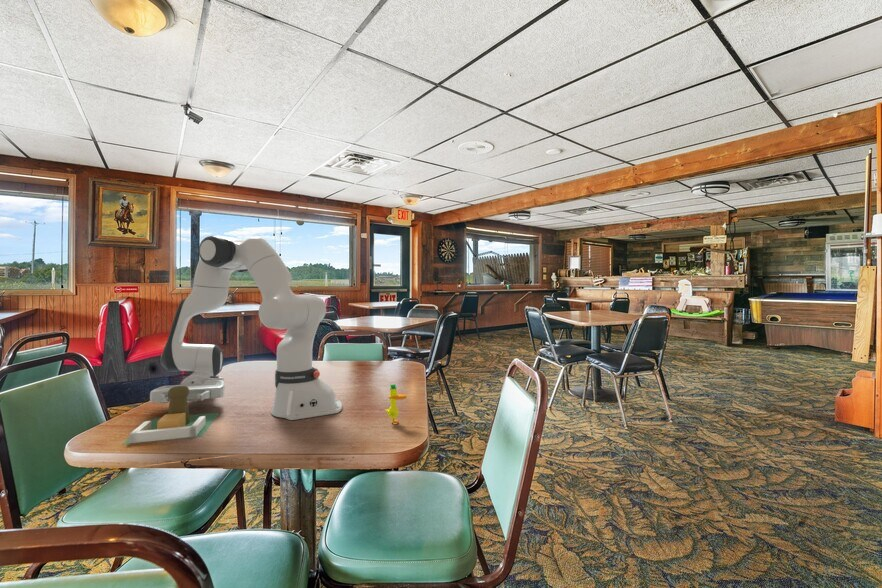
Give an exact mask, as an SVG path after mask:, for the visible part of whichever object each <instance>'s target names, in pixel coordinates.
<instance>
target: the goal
mask: <svg viewBox="0 0 882 588" xmlns="http://www.w3.org/2000/svg"><path fill="white" fill-rule="evenodd" d="M205 424H206V416H200V417H199V418H198V419H197V420H196V421H195V422H194V424H193V425H192V426H187V427H177V428H166V429H156V430H151V420H146V421H145V420H144V421H143V422H142V423H141V424H140V425H139V426H138V427H136V428H135V429H133V430H132V431H131V432H130V433H129V437H128V439H129V443H133V444H139V443H138V442H143V443H148V442H147V441H152V442H158V441H157V440H162V441H168V440H167V439H172V440H178V439H177V438H182V439H187V438H186V437H191V438H197V437H196V436H197V434H198V433H199V432H200V431H201V429H202V428H203V427H204V426H205Z"/></svg>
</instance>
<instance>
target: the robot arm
mask: <svg viewBox="0 0 882 588" xmlns="http://www.w3.org/2000/svg"><path fill="white" fill-rule="evenodd" d="M198 255H199V256H198V257H199V260H198V263H197V266H196V269H195V272H194V276H193V277H194V278H193V283H192V290H191V292H190V293H189V295H188V296H187V297H185V298H183V299H182V300H181V301H180V302H179V304H178V306H177V308H176V312H175V315H174V317H173V322H172V324H171V327H170V330H169V335H168V338H167V340H166V343H165V345H164V348H163V349H162V350H163V351H162V352H161V355H160V365H161V366H162V367H163V368H164V369H165V370H166V371H168V372H170V373H171V372H182V371H183V372H184V371H185V372H192V373H191V374H190V375H187V376H186V377H185V378H184V379H183V380H181V382H180V384H174V385H173V384H172V385H163V386H158V387H157V388H154V389H153V390H151V391H150V393H149V401H150V403H153V404H154V403H161V404H167V403H170V398H169V397H168V391H169V390H170V389H171V388H173V387H177V386H186V387H188V389H189V395H188V396H187V402H193V403H194V402H198V401H204V400H206V399H207V400H208V399H219V398H220V399H221V398H223V397H224V396H225V395H226V394H225V392H226V389H225V387H226V385H225V379H224V378H225V377H224V376H219V373H221V371H222V370H223V366H224V359H225V358H224V352H223V350H222V349H221V348H220V347H219V346H218V345H217V344H209V343H207V344H205V343H201V344H200V343H185V342H184V337H185V334H186V332H187V328H188V326H189V325H188V324H189V322H190V320H191V319H193V317H195V316H197V315H198V316H199V315H200V314H203V313H209V312H211V311H214V310H218V309H220V308H221V307H223V306H224V304H226V302H227V300H228V298H229V297H228V296H229V292H230V291H229V290H230V279H231V275H232V274H233V273H234V272H236V271H237V272H238V273H243V272H247V271H248V273H249V275H250V276H251V278H252V279H253V280H254V283H255V284H256V286H257V288H258V289H259V291H260V294H261V295H260V296H261V298H262V300H261V301H262V302H260V305H259V308H258V318H259V320H260V322H261V323H262V324H261V325H263V326H265V327H266V328H268V329H275V330H286V332H285V334H284V336H283V338H282V339H281V341H279V343H278V344H277V347H276V369H275V372H274V387H275V392H274V393H275V394H274V395H275V396H274V400H273V403H272V404H273V405H272V409H271V412H270V414H271V415H272V416H274V417H276V418H283V419H287V420H288V421H294V420H300V419H308V418H314V417H315V418H316V417H320V416H329V415H333V414H334V415H335V414H338V413H339V412H341V411H342V409H343V404H342V402H341V400H339V399H337V398H336V395H335V391H334V389H333V387H332V386H331V385H329V384H328V383H326V382H324V381H323V380H321V379H320V378H319V377H320V375H321V373H320V371H319V369H318V368H317V367H316V368H315V367H314V366H313V348H314V340H315V336H316V334H317V330H318V328H319V326H320V323H321V322H322V320H323V319H324V318H325V316H326V314H327V306H326V303H325V301H324V300H323V299H322V298H320V297H318V296H315V295H313V294H303V293H302V294H296V293H295V292H293V290H291V289H292V288H291V286H290V285H291V282H292V280H293V279H292V278H293V277H292V273H291V271H289V269H288V267H287V266H286V264H285V263H284V261H283V259H282V258H281V257H280V255H279V254H278V252H277V251H276V250H275V249H274V247H272V245H271V244H270V243H269V242H268V241H267V240H266V239H264V238H262V237H260V236H254V237H249V238H247V239H245V240H244V239H240V238H235V237H229V236H221V235H209V236H206V237H204V238H203V239H202V240H201V242H200V243H199V247H198Z"/></svg>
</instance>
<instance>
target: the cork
mask: <svg viewBox="0 0 882 588" xmlns="http://www.w3.org/2000/svg"><path fill="white" fill-rule="evenodd" d="M188 395H189V389H188V387H186V386H177V387H173V388H171V389H170V390H169V391H168V397H169V398H170V401H169V402H168V403H169V404H168V410H167V414H177V413H186V424H188V423H190V416H189V415H190V408H189V404H188V402H189V401H187V396H188Z"/></svg>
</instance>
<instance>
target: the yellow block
mask: <svg viewBox="0 0 882 588" xmlns="http://www.w3.org/2000/svg"><path fill="white" fill-rule="evenodd" d="M160 418H161V419H160V420H159V421H157V429H166V428H177V427H185V426H186V413H177V414H168V413H167V414H164V415H163V416H162V417H160Z"/></svg>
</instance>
